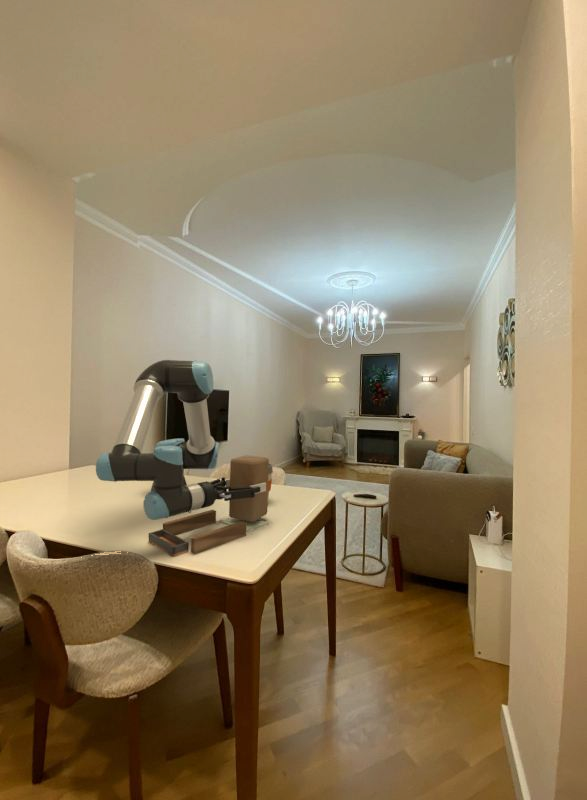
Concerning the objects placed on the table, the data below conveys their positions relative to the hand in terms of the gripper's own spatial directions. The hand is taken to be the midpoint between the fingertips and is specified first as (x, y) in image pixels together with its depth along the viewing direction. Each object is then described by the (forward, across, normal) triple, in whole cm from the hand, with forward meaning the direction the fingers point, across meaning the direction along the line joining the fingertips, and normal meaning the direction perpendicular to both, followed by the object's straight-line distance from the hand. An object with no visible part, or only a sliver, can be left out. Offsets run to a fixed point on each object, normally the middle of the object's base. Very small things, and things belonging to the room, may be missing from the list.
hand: (252, 483), depth 122 cm
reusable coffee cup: (+15, -14, -13) cm, 24 cm away
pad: (-4, 0, -13) cm, 13 cm away
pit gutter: (-31, -1, -13) cm, 33 cm away
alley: (-19, 0, -13) cm, 23 cm away
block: (-2, 0, -11) cm, 11 cm away
